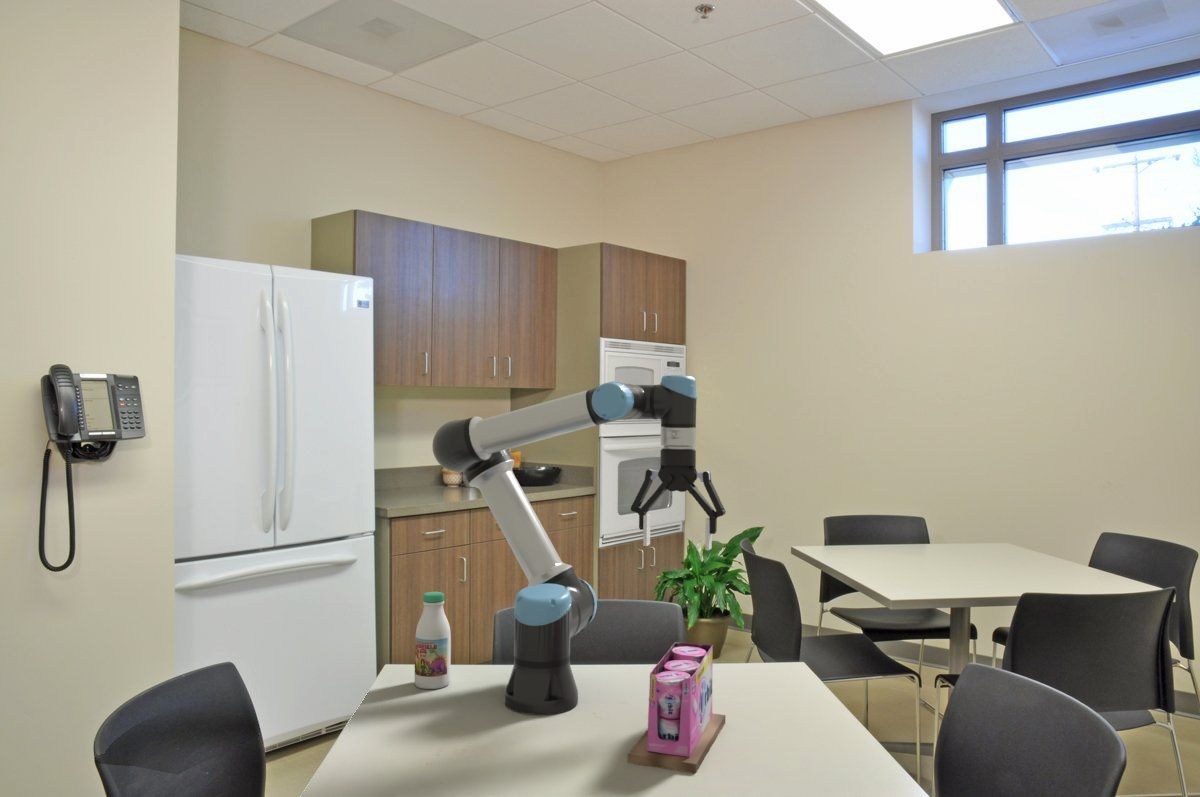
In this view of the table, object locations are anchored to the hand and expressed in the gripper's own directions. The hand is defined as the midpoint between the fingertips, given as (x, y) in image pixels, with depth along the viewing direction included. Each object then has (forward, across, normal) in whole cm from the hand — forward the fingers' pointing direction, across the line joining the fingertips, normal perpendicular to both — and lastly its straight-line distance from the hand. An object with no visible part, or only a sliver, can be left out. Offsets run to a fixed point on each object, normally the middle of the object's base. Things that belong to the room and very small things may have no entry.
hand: (677, 547), depth 184 cm
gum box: (+30, +7, -23) cm, 39 cm away
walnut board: (+32, +7, -24) cm, 40 cm away
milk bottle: (+32, -52, -12) cm, 62 cm away
